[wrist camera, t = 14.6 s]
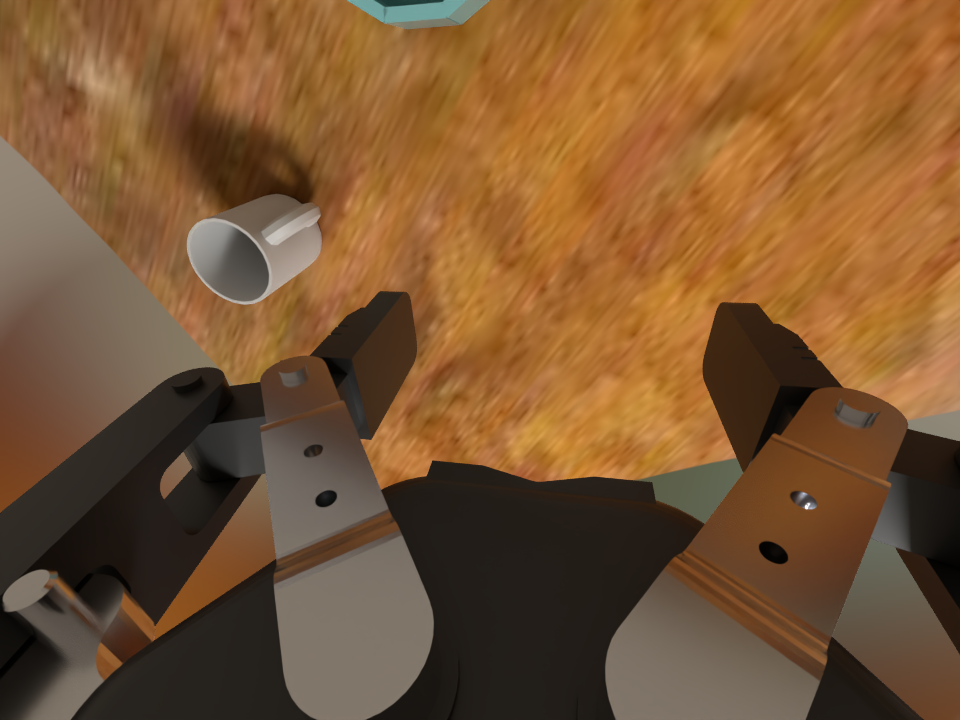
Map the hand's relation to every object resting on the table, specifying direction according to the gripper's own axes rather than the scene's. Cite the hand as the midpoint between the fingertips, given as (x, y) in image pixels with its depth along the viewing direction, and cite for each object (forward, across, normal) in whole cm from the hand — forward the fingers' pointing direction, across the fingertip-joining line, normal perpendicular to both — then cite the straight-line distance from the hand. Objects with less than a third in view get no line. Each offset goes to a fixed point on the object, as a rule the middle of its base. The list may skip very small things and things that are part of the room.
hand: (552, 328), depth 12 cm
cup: (+28, +25, +5) cm, 38 cm away
